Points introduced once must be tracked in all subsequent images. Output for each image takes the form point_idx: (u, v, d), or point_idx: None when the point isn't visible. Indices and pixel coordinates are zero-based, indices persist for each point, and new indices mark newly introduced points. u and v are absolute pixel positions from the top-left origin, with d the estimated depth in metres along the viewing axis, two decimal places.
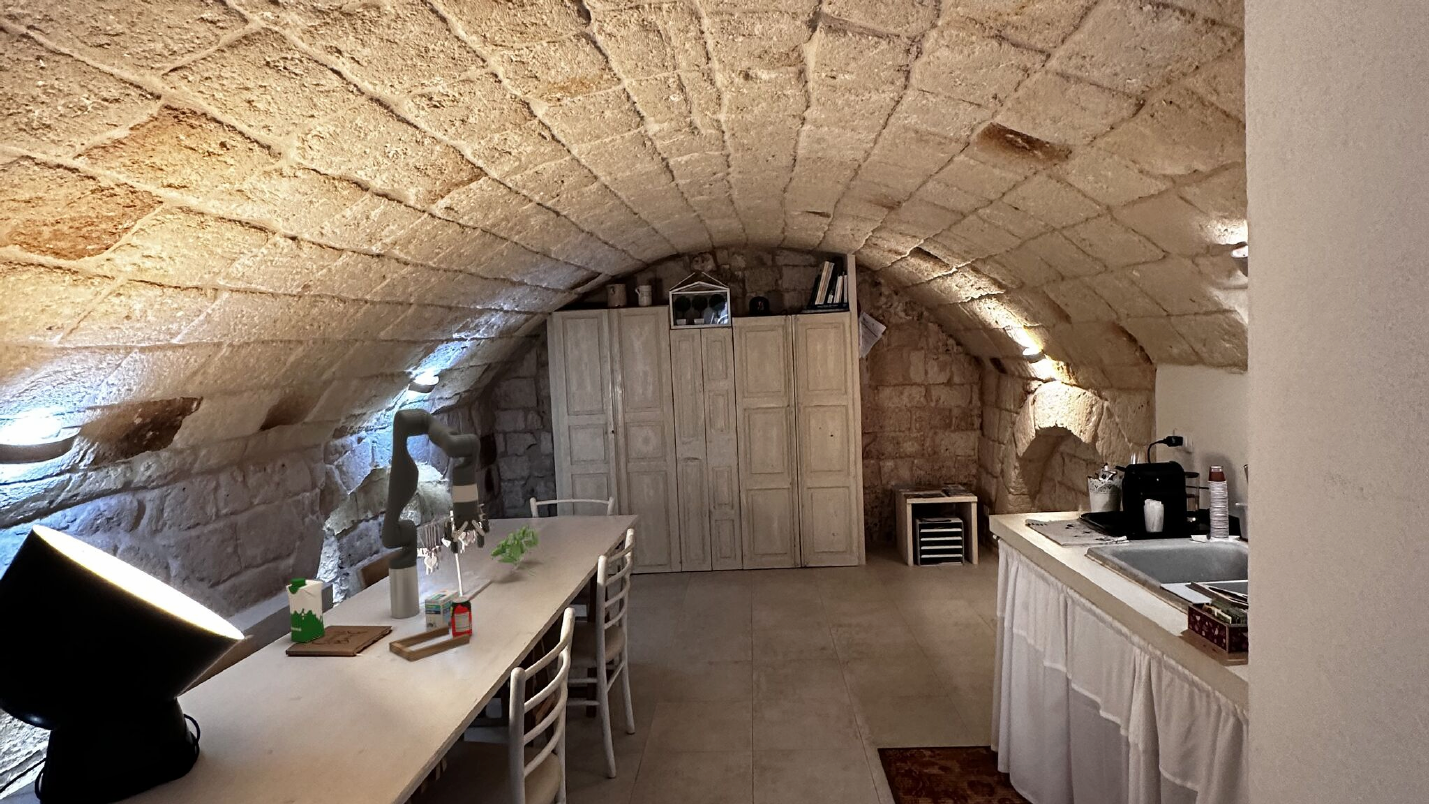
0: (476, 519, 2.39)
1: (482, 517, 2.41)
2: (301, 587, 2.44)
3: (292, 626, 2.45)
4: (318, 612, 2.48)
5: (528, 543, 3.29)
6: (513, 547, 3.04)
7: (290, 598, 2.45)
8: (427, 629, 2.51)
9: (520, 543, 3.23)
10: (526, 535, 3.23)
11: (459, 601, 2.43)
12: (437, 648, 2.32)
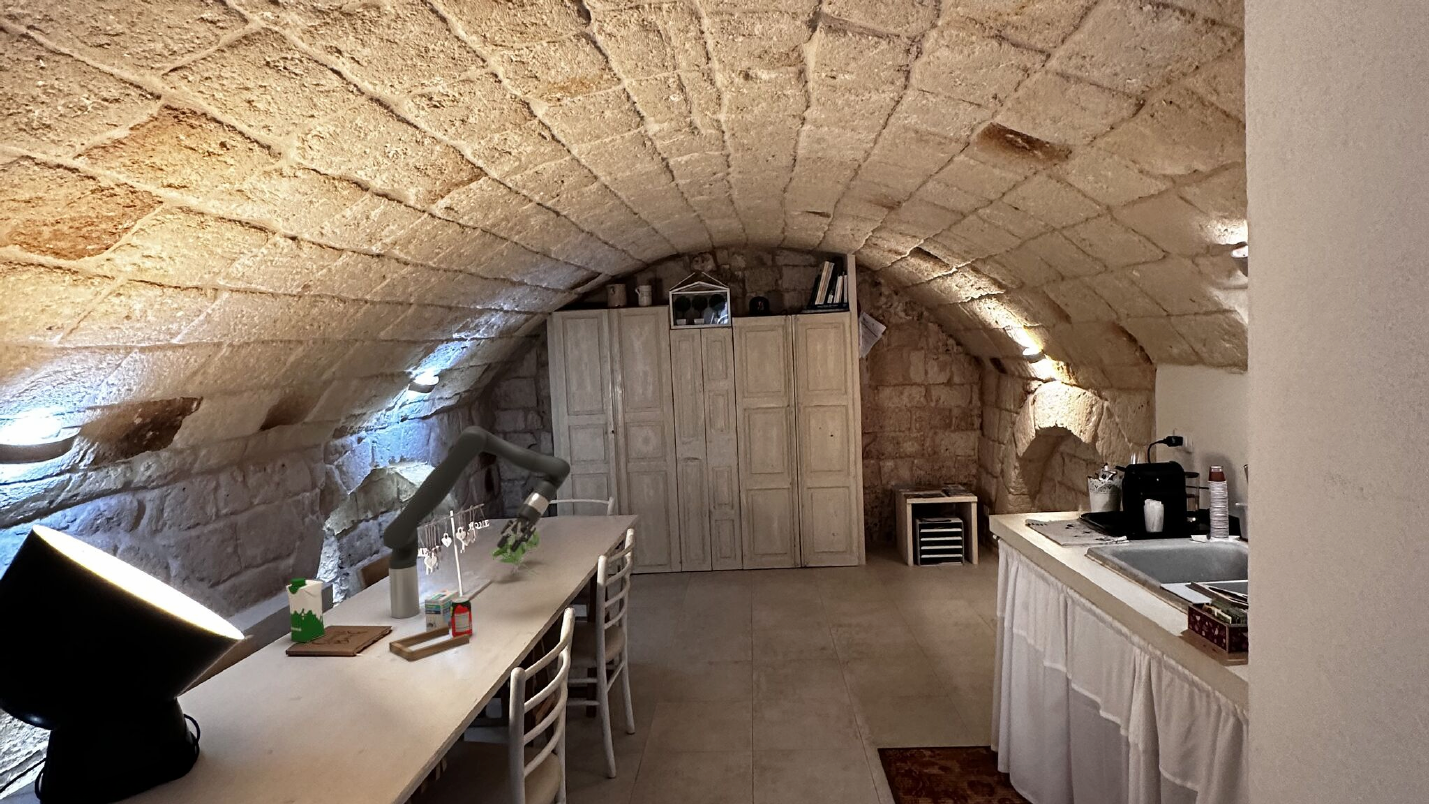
0: None
1: None
2: (301, 587, 2.44)
3: (292, 626, 2.45)
4: (318, 612, 2.48)
5: (529, 543, 3.29)
6: None
7: (290, 598, 2.45)
8: (427, 629, 2.51)
9: (521, 543, 3.23)
10: (527, 535, 3.23)
11: (459, 601, 2.43)
12: (437, 648, 2.32)
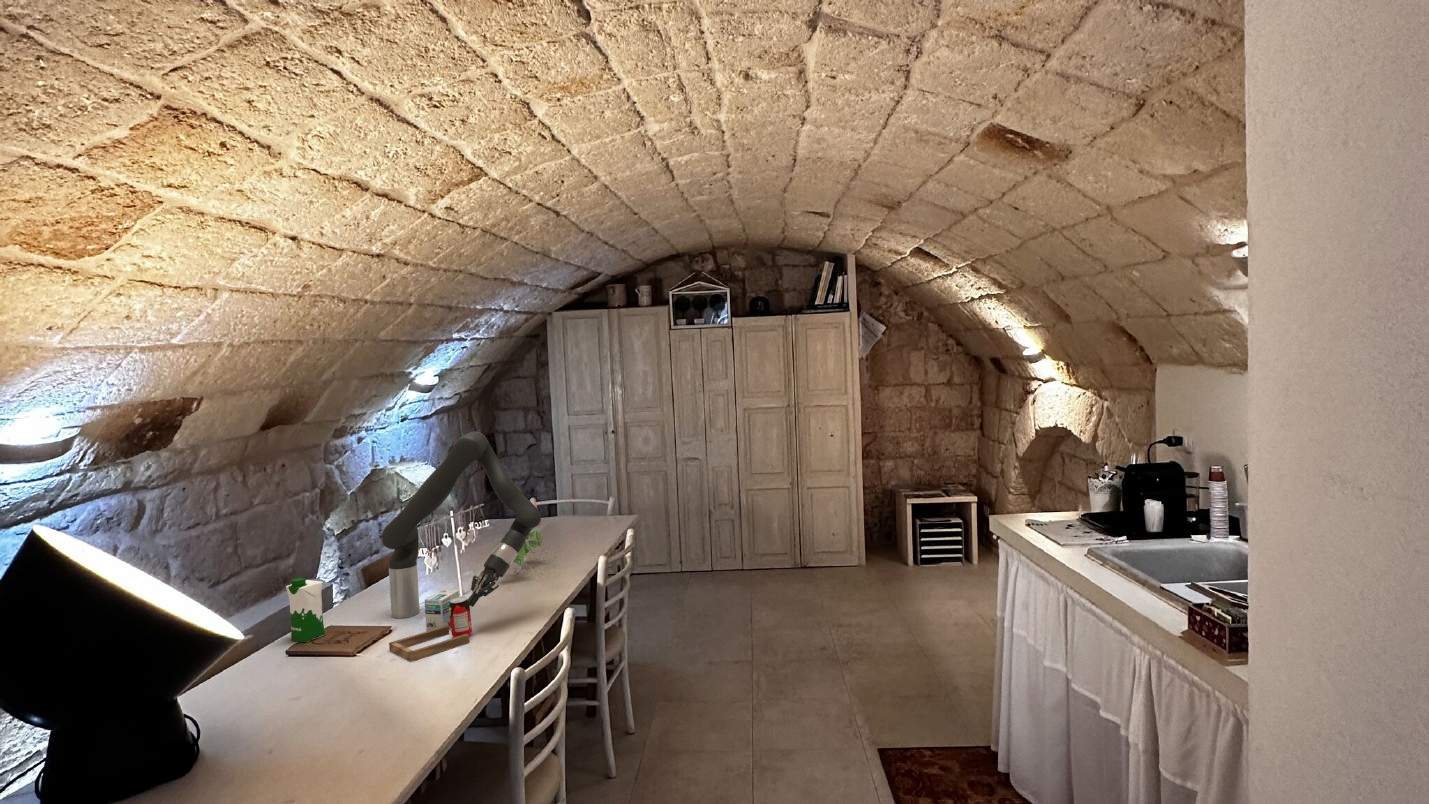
0: None
1: None
2: (301, 587, 2.44)
3: (292, 626, 2.45)
4: (318, 612, 2.48)
5: (532, 543, 3.29)
6: None
7: (290, 598, 2.45)
8: (427, 629, 2.51)
9: (524, 543, 3.23)
10: (530, 535, 3.23)
11: (457, 601, 2.43)
12: (437, 648, 2.32)
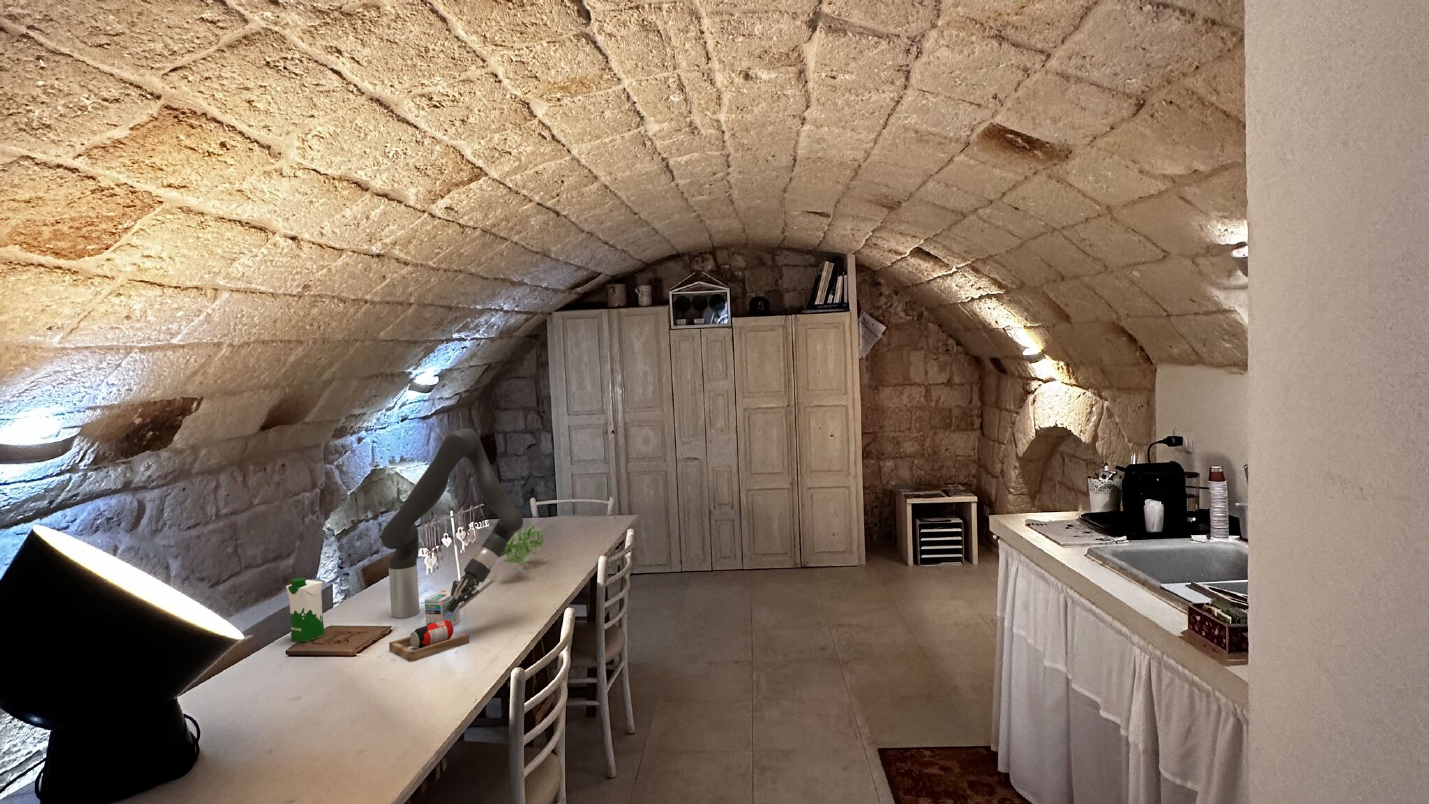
0: None
1: None
2: (301, 587, 2.44)
3: (292, 626, 2.45)
4: (318, 612, 2.48)
5: (533, 543, 3.29)
6: (519, 547, 3.04)
7: (290, 598, 2.45)
8: None
9: (525, 543, 3.23)
10: (531, 535, 3.23)
11: (417, 642, 2.34)
12: (437, 648, 2.32)
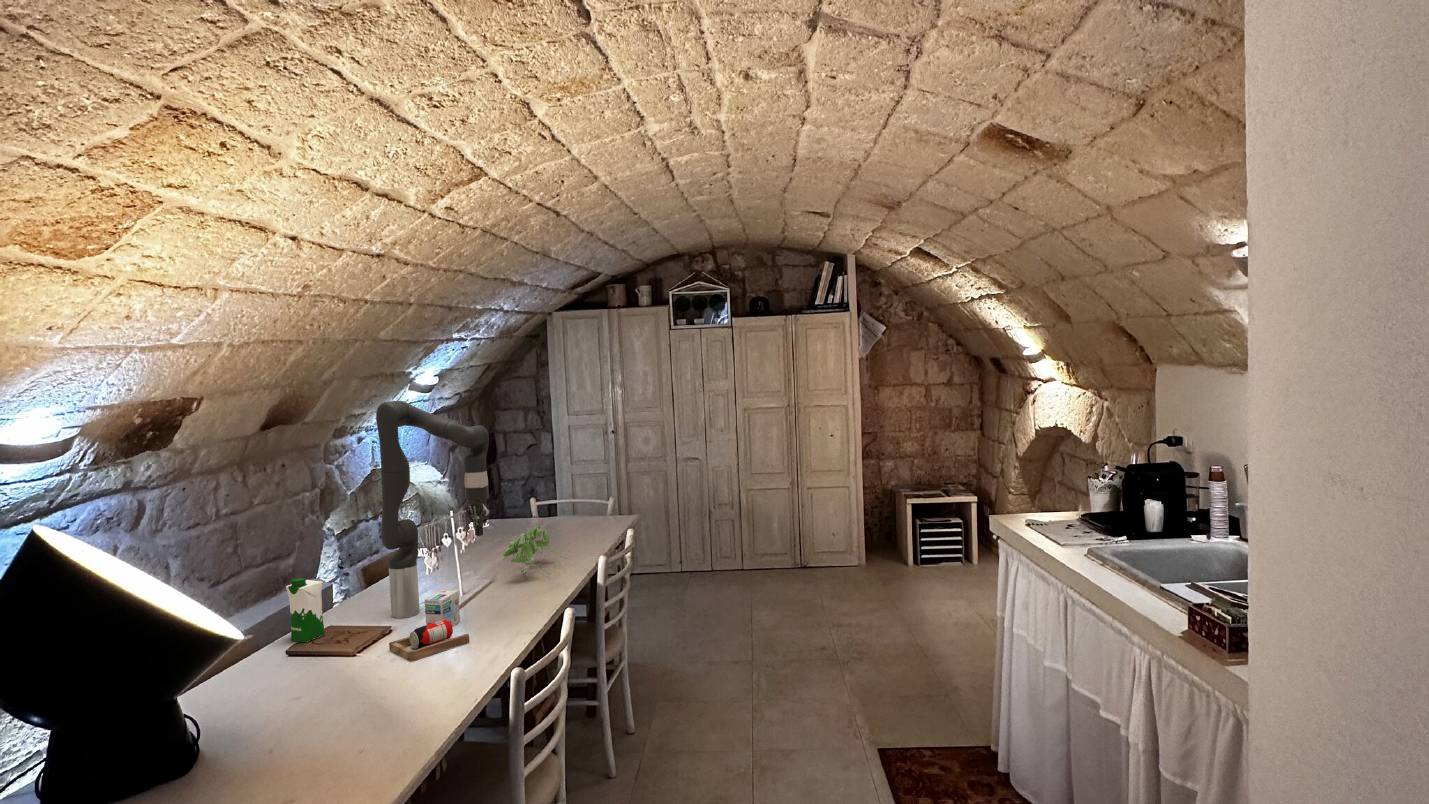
0: None
1: None
2: (301, 587, 2.44)
3: (292, 626, 2.45)
4: (318, 612, 2.48)
5: (539, 543, 3.28)
6: (525, 547, 3.04)
7: (290, 598, 2.45)
8: None
9: (531, 543, 3.23)
10: (537, 535, 3.23)
11: (416, 641, 2.34)
12: (437, 648, 2.32)
